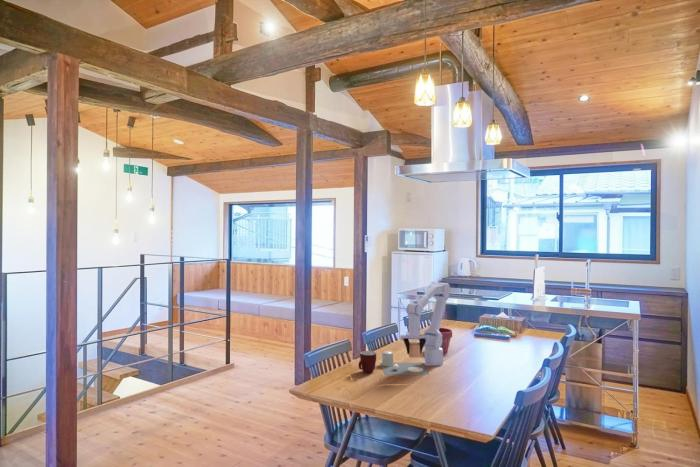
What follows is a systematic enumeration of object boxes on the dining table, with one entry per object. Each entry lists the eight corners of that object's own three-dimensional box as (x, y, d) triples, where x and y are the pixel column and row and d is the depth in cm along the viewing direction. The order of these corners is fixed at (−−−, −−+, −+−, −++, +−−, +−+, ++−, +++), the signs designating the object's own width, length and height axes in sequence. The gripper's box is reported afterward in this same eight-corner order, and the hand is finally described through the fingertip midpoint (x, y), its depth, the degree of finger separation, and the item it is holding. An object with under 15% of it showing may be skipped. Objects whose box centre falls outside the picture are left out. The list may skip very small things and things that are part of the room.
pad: (421, 367, 233) (421, 366, 233) (424, 372, 225) (424, 371, 225) (406, 367, 233) (406, 366, 233) (408, 372, 225) (408, 371, 225)
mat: (420, 363, 242) (420, 362, 242) (429, 375, 222) (429, 374, 222) (379, 364, 241) (379, 362, 241) (384, 376, 221) (384, 375, 221)
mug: (367, 377, 218) (367, 357, 218) (353, 374, 223) (354, 354, 223) (379, 372, 226) (379, 352, 226) (366, 369, 231) (366, 350, 231)
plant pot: (450, 348, 273) (450, 327, 273) (453, 355, 259) (453, 332, 259) (426, 347, 274) (426, 326, 274) (428, 354, 260) (428, 332, 260)
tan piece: (418, 354, 232) (418, 341, 232) (420, 357, 226) (420, 344, 226) (407, 354, 232) (407, 342, 232) (409, 357, 226) (409, 344, 226)
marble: (398, 369, 230) (398, 363, 230) (399, 370, 227) (399, 364, 227) (392, 369, 230) (392, 363, 230) (393, 371, 227) (393, 365, 227)
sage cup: (391, 363, 240) (391, 351, 240) (393, 366, 235) (393, 353, 235) (381, 363, 240) (381, 351, 240) (382, 366, 234) (382, 354, 234)
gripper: (401, 328, 225) (401, 355, 225) (430, 328, 225) (430, 355, 226) (399, 325, 232) (399, 352, 232) (427, 325, 232) (427, 351, 233)
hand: (414, 353), depth 229 cm, fingers closed on tan piece, 6 cm apart
